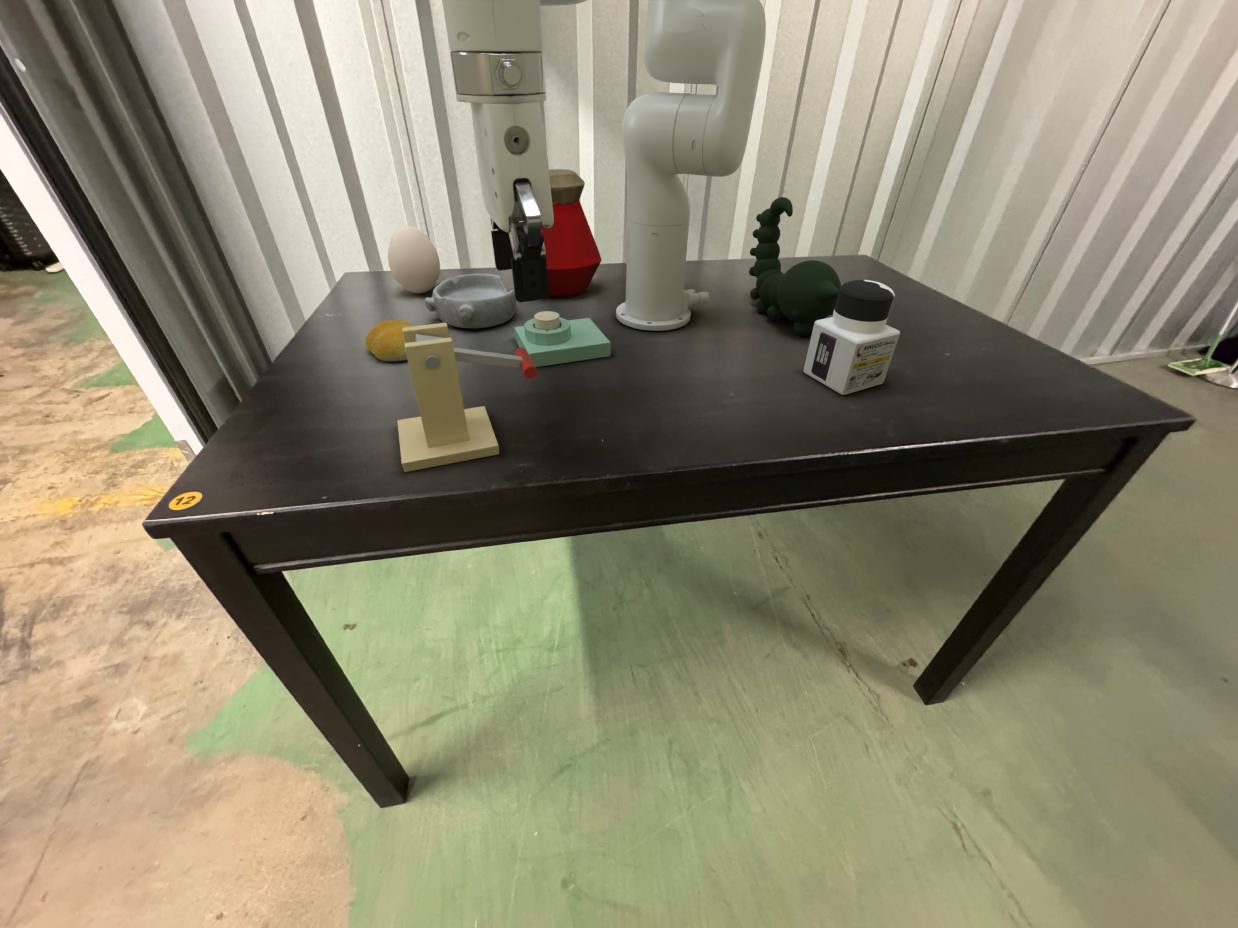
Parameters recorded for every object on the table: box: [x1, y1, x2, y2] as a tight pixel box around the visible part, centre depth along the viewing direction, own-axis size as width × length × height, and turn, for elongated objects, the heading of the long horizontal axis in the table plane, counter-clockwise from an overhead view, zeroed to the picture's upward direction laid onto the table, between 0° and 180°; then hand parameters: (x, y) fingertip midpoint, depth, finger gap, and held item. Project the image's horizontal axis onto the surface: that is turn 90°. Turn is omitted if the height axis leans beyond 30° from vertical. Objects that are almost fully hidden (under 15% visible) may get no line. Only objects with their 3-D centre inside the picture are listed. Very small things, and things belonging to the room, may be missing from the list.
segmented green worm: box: [748, 196, 842, 337], centre depth 88 cm, size 9×19×25 cm
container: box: [802, 279, 901, 396], centre depth 72 cm, size 8×8×13 cm
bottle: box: [541, 168, 602, 299], centre depth 98 cm, size 16×14×20 cm
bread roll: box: [364, 319, 415, 362], centre depth 80 cm, size 8×9×4 cm
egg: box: [387, 225, 441, 294], centre depth 98 cm, size 9×9×12 cm
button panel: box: [513, 316, 612, 368], centre depth 82 cm, size 12×10×4 cm
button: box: [533, 310, 560, 330], centre depth 80 cm, size 4×4×2 cm
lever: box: [415, 334, 538, 380], centre depth 58 cm, size 12×5×2 cm, turn 110°
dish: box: [424, 273, 517, 329], centre depth 91 cm, size 14×14×5 cm
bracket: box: [397, 322, 500, 473], centre depth 58 cm, size 10×9×13 cm
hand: (521, 283), depth 56 cm, fingers open, 9 cm apart
